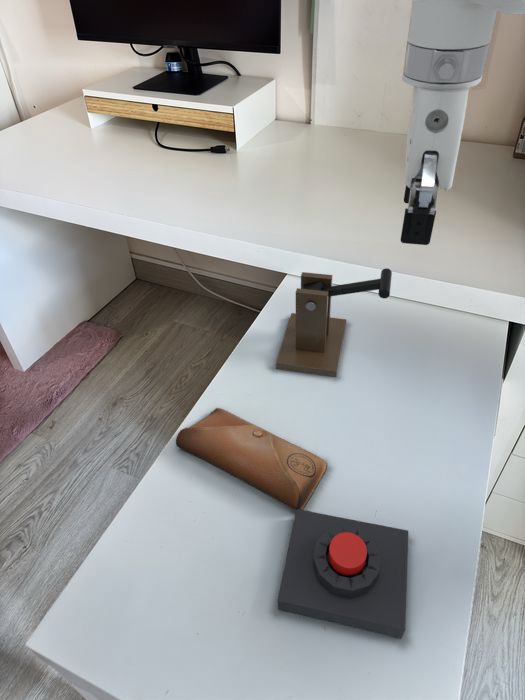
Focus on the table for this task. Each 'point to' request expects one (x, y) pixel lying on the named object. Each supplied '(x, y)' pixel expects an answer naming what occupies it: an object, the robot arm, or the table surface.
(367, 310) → the table surface
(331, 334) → the bracket
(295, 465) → the sunglasses case
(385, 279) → the lever
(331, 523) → the stop block
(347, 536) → the stop button
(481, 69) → the robot arm
